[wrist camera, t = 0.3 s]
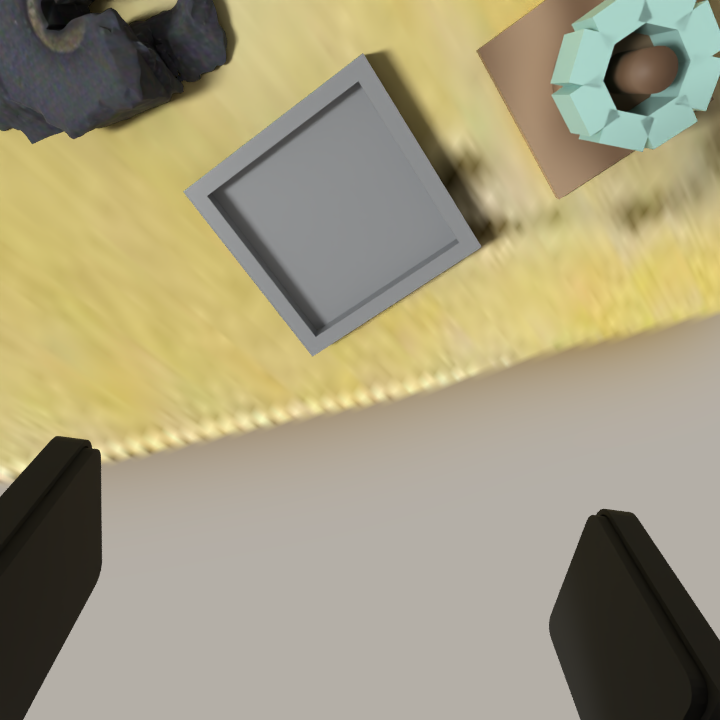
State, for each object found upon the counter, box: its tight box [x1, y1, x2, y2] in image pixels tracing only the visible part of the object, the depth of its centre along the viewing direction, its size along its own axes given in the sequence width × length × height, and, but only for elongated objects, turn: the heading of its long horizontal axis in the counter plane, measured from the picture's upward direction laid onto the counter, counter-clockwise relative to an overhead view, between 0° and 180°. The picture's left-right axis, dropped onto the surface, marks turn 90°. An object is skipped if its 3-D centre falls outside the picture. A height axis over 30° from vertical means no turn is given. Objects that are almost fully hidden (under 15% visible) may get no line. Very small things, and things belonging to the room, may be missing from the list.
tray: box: [183, 54, 481, 356], centre depth 37 cm, size 13×13×2 cm
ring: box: [550, 0, 720, 152], centre depth 30 cm, size 7×7×3 cm
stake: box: [477, 0, 713, 199], centre depth 31 cm, size 10×10×8 cm
